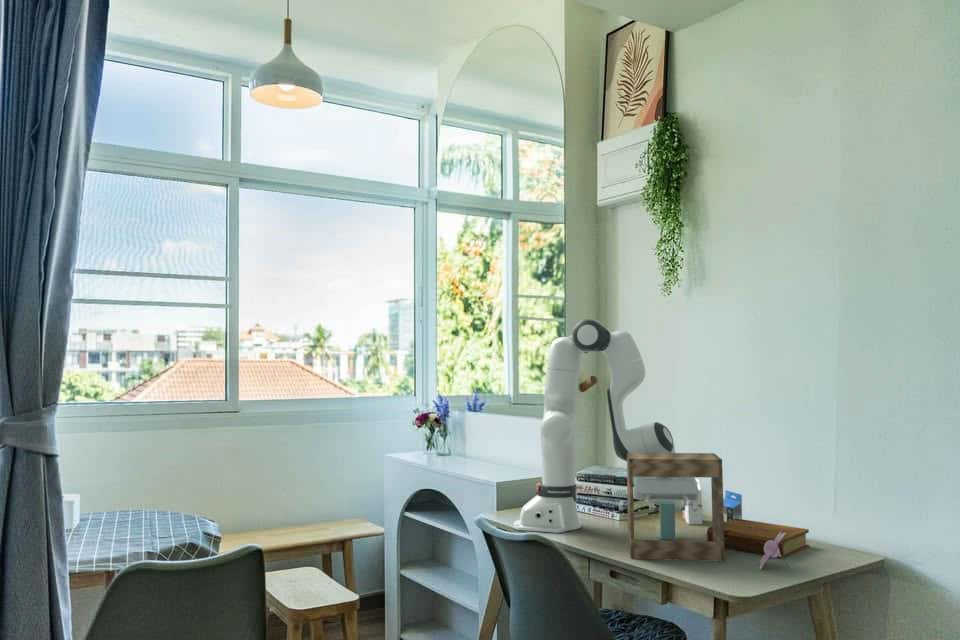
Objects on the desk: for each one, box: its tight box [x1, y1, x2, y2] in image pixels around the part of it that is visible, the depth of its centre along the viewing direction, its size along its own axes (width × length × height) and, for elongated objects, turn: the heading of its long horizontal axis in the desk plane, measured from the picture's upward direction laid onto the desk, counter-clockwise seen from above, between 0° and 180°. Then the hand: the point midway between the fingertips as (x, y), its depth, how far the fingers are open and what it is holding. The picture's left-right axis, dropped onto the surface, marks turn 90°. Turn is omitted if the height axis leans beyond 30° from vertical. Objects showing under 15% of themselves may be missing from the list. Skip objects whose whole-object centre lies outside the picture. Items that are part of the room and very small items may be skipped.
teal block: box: [658, 501, 676, 540], centre depth 239 cm, size 4×4×11 cm
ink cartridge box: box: [681, 477, 703, 525], centre depth 262 cm, size 9×5×15 cm, turn 179°
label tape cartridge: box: [723, 490, 743, 522], centre depth 249 cm, size 9×4×12 cm, turn 18°
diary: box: [706, 518, 810, 559], centre depth 228 cm, size 23×19×6 cm
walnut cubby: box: [626, 452, 726, 562], centre depth 221 cm, size 26×14×28 cm, turn 82°
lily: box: [758, 532, 791, 571], centre depth 205 cm, size 12×12×10 cm
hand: (667, 509), depth 240 cm, fingers open, 8 cm apart
